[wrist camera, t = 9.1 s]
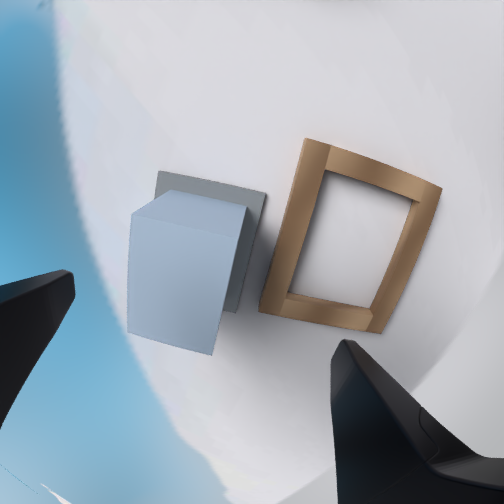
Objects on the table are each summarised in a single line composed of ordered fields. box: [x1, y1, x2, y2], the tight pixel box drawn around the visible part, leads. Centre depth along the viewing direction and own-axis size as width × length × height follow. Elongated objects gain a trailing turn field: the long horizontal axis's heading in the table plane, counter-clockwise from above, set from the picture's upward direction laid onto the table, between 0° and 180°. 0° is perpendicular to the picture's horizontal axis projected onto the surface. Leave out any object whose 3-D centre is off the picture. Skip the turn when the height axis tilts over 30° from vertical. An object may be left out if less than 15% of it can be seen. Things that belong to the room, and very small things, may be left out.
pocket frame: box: [258, 138, 442, 334], centre depth 19 cm, size 10×12×1 cm
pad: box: [154, 171, 265, 313], centre depth 19 cm, size 7×9×1 cm
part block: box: [127, 190, 247, 356], centre depth 16 cm, size 5×7×6 cm
